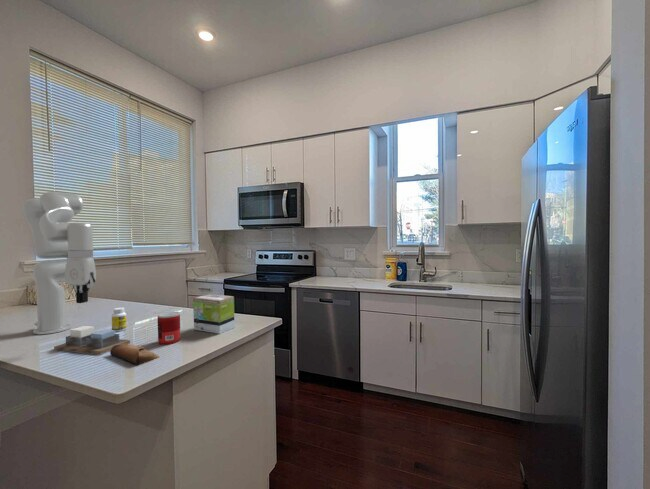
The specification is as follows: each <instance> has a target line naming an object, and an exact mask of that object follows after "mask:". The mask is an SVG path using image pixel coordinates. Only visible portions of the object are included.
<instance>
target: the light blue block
mask: <svg viewBox="0 0 650 489" xmlns="http://www.w3.org/2000/svg"><path fill="white" fill-rule="evenodd" d="M115 334H116V332H115V330H112V329H102V330H98V331H95V332H94V333H91V339H101V340H102V339H105V338H108V337H110V336H113V335H115Z"/></svg>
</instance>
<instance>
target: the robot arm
mask: <svg viewBox="0 0 650 489" xmlns="http://www.w3.org/2000/svg"><path fill="white" fill-rule="evenodd" d="M84 206H85V205H84V200H83V198H82V196H80V195H79V194H76V193H69V192H68V193H67V192H59V191H49V192H44V193H42V194H41V195H40V197H39V198H29V199H26V200H25V201H24V202H23V204H22V213H23V216H24V218H25V221H26V223H27V224H28V226H29V228H30V230H31V235H32V242H33V250H34V253H35V255H36V257H37V258H39V259H42V260H43V259H44V260H43V261H39V262H37V263H35V264H34V265H33V268H32V274H33V279H34V283H35V289H36V308H37V309H36V311H37V321H36V322H34V326H36V328H35V329H33V331H32V334H34V335H49V334H56V333H60V332H63V331H67V330H69V329H71V327H72V326H71V324H70V323H67V312H66V310H67V309H66V306H67V305H66V290H65V288H64V287H63V286H62V285H61V284H59V283H58V282H63V281H64V282H65V284H66V285H68V286H69V287H71V288H72V289H74V293H75V300H76V303H77V304H83V303H88V302H89V291H90V289H92V288H94V287H95V283H96V282H97V281H96V280H97V270H96V269H97V268H96V263H95V260H94V242H93V240H94V239H93V238H94V237H93V235H94V234H93V232H94V231H93V225H92V224H91V223H88V222H70V221H71V220H73V219H74V217H75V216H77V215H79V214H80V213H82V211H83V209H84ZM45 259H46V260H45ZM50 259H53V260H50ZM54 259H56V260H54ZM57 259H58V260H57Z"/></svg>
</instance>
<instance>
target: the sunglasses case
mask: <svg viewBox="0 0 650 489" xmlns="http://www.w3.org/2000/svg"><path fill="white" fill-rule="evenodd" d="M109 352H110V355H111V356H113V357H119V358H121V359H123V360H125V361H128V362H130V363H133V364H135V365H137V366H141V365H143V364H147V363H150V362H152V361H155V360H156V359H159V358H160V356H159V355H158V354H156V353H154V352H152V351H150V350H148V349H146V348H145V347H143V346H140V345H133V344H120V345H115V346H113V347H112V349H111V351H109ZM154 359H155V360H154Z"/></svg>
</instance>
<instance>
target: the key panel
mask: <svg viewBox="0 0 650 489" xmlns="http://www.w3.org/2000/svg"><path fill="white" fill-rule="evenodd" d="M130 343H131V340H130V339H124V338H123V339H122V338H120V333H115V335H113V336H110V337H108V338H105V339H102V340H101V339H91V335H88V336H84V337H81V338H79V337H70V335H69V336H65V342H64V343H60V344H58V345H55V346H53V350H54V351H62V352H72V353H81V354H88V355H89V354H90V355H98V356H99V355H101V356H102V355H103V354H106V353H108V352H110V351H111V349H112V347H113V346H115V345H120V344H127V345H130Z"/></svg>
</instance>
